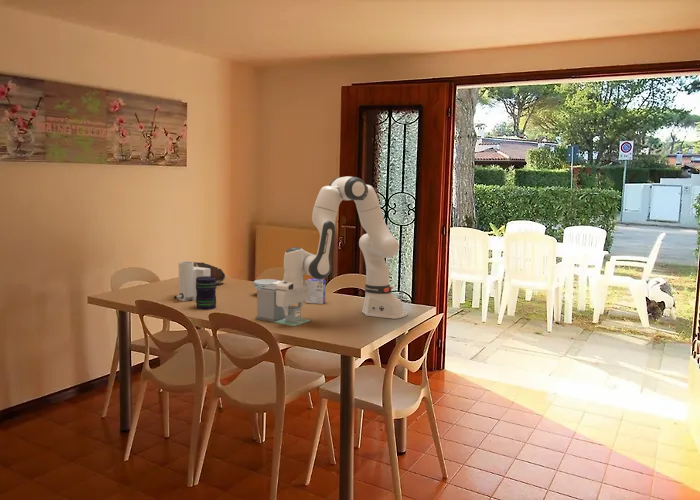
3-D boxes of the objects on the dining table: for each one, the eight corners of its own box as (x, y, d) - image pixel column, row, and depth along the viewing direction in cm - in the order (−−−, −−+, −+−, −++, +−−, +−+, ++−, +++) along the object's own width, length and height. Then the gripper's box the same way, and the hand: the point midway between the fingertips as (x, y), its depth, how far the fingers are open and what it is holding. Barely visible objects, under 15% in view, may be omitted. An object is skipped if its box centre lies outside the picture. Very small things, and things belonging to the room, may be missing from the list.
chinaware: (248, 294, 331) (248, 280, 330) (271, 291, 341) (271, 278, 340) (263, 299, 320) (263, 285, 319) (286, 295, 330) (286, 282, 329)
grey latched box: (291, 316, 282) (292, 286, 280) (274, 322, 271) (274, 290, 269) (273, 313, 288) (273, 283, 286) (255, 318, 277) (255, 287, 275)
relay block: (292, 318, 276) (292, 305, 275) (301, 320, 273) (301, 306, 272) (285, 320, 271) (285, 307, 271) (294, 322, 269) (294, 308, 268)
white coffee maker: (211, 298, 319) (210, 261, 317) (187, 304, 302) (187, 265, 300) (186, 295, 326) (186, 258, 323) (162, 301, 309) (162, 263, 307)
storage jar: (220, 307, 298) (220, 277, 297) (205, 310, 290) (205, 280, 289) (206, 304, 304) (206, 275, 302) (191, 307, 296) (191, 278, 294)
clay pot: (233, 264, 359) (200, 261, 339) (232, 290, 358) (198, 288, 338) (216, 265, 368) (183, 261, 348) (215, 290, 367) (182, 288, 347)
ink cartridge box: (325, 302, 316) (326, 275, 314) (323, 304, 311) (323, 276, 309) (307, 301, 318) (308, 274, 316) (304, 303, 313) (305, 275, 311)
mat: (310, 321, 274) (310, 319, 274) (294, 326, 264) (294, 325, 264) (291, 317, 280) (291, 316, 280) (275, 322, 270) (275, 321, 270)
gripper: (301, 279, 280) (301, 308, 282) (273, 285, 263) (273, 316, 265) (312, 280, 277) (312, 310, 279) (284, 287, 260) (284, 318, 262)
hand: (293, 313), depth 272 cm, fingers open, 7 cm apart
